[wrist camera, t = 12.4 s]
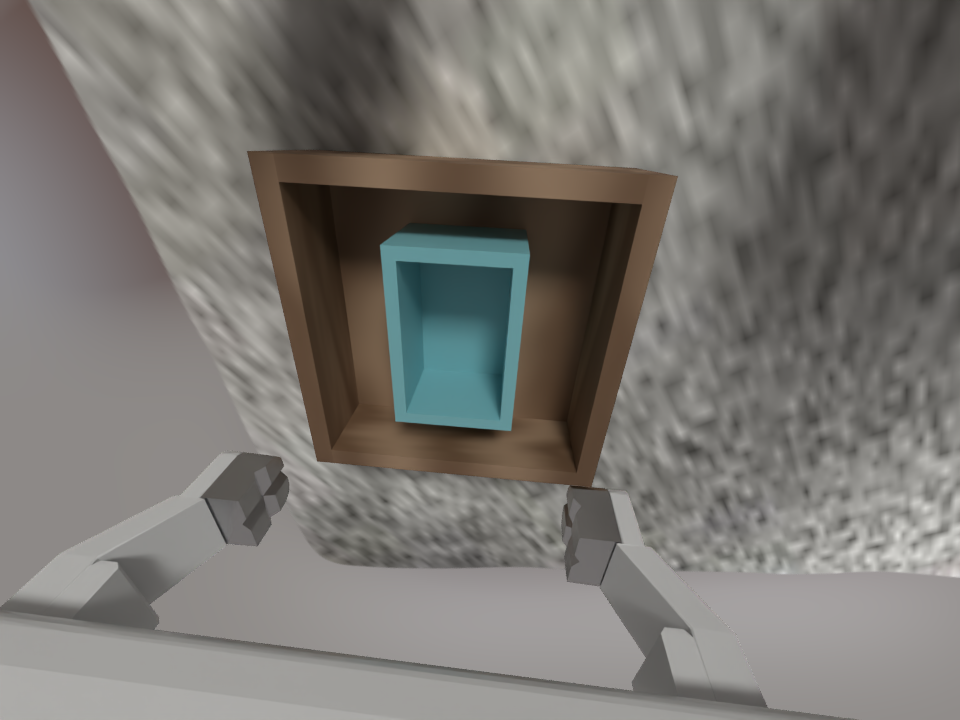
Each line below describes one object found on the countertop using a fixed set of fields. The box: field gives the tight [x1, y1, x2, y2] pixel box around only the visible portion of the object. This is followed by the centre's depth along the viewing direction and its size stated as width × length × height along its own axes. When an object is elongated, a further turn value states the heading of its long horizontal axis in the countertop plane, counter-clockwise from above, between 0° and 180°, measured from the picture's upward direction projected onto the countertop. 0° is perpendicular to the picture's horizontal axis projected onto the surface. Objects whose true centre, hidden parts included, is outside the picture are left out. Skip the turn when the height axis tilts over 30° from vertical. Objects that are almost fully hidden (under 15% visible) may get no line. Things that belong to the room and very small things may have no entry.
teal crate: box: [380, 223, 530, 431], centre depth 19 cm, size 6×9×5 cm, turn 178°
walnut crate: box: [247, 150, 678, 487], centre depth 20 cm, size 16×16×6 cm
